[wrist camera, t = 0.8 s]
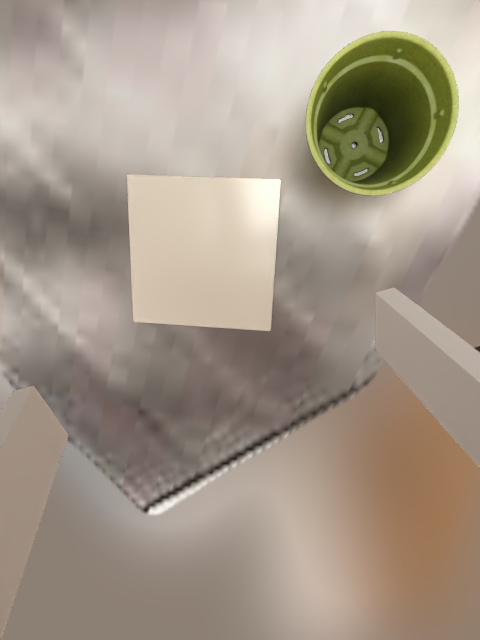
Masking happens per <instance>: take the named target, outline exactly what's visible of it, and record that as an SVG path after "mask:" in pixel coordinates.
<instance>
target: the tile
mask: <svg viewBox="0 0 480 640" xmlns="http://www.w3.org/2000/svg"><path fill="white" fill-rule="evenodd" d="M280 185H281V179H253V178H222V177H191V176H159V175H128V174H127V187H128V210H129V234H130V257H131V281H132V305H133V322H143V323H158V324H173V325H187V326H202V327H217V328H232V329H247V330H262V331H271V318H272V304H273V289H274V274H275V259H276V245H277V230H278V215H279V200H280Z"/></svg>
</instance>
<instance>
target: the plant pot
mask: <svg viewBox="0 0 480 640" xmlns="http://www.w3.org/2000/svg"><path fill="white" fill-rule="evenodd" d="M458 108H459V96H458V88H457V84H456V81H455V78H454V74H453V72H452V69H451V67H450V65H449V64H448V62H447V60H446V59H445V58H444V57H443V55H442V54H441V53H440V52H439V50H438V49H437V48H436V47H434V46H433V45H432V44H430V43H429V42H428V41H426V40H425V39H423V38H421V37H419V36H416V35H414V34H410V33H406V32H398V31H383V32H377V33H373V34H369V35H367V36H364V37H362V38H360V39H357V40H356V41H354V42H352V43H350V44H349V45H347V46H346V47H344V48H343V49H342V50H341V51H339V52H338V53H337V54H336V55H335V56H334V57H333V58H332V59H331V60H330V61H329V62H328V63H327V65H326V66H325V67H324V69H323V70H322V72H321V73H320V75H319V77H318V78H317V80H316V82H315V84H314V86H313V89H312V91H311V94H310V97H309V101H308V105H307V111H306V135H307V141H308V145H309V148H310V151H311V154H312V156H313V158H314V160H315V162H316V163H317V165H318V167H319V168H320V170H321V171H322V172H323V173H324V174H325V176H326V177H327V178H328V179H329V180H331V181H332V182H333V183H334V184H336V185H337V186H339V187H340V188H342V189H344V190H346V191H349V192H352V193H355V194H359V195H366V196H378V195H385V194H390V193H393V192H396V191H399V190H401V189H404V188H406V187H408V186H410V185H412V184H413V183H415V182H416V181H418V180H419V179H421V178H422V177H423V176H424V175H425V174H426V173H428V172H429V171H430V170H431V169H432V168H433V166H434V165H435V164H436V163H437V162H438V161H439V159H440V158H441V156H442V155H443V153H444V152H445V150H446V148H447V146H448V145H449V142H450V140H451V138H452V136H453V133H454V130H455V127H456V123H457V117H458ZM347 114H353V115H354V117H353V118H350V119H347V120H345V121H342V122H341V123H338V120H339V119H340V118H342V117H345V116H346V115H347ZM377 127H379V128H380V129H381V131H382V133H383V137H384V140H383V143H380V142H379V134H378V130H377ZM353 142H356V143H357V147H356V148H352V147H351V144H352V143H353ZM325 148H327V149H328V155H329V158H330V160H331V164H328V163H327V162H326V159H325V155H324V150H325ZM366 168H369V170H368V172H366V173H365V174H362V175H360V176H357V177H356V176H354V173H356V172H360V171H362V170H365V169H366Z"/></svg>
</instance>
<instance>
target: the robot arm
mask: <svg viewBox="0 0 480 640" xmlns="http://www.w3.org/2000/svg"><path fill="white" fill-rule="evenodd" d="M375 350H376V351H377V352H378V353H379V354H380V356H381V357H382V358H383V359H384V360H385V361H386V362H387V364H388V365H389V366H390V367H391V368H392V369H393V370H394V371H395V373H396V374H397V375H398V376H399V377H400V378H401V380H402V381H403V382H404V383H405V384H406V385H407V386H408V388H409V389H410V390H411V391H412V392H413V393H414V394H415V396H416V397H417V398H418V399H419V400H420V401H421V402H422V403H423V404H424V406H425V407H426V408H427V409H428V410H429V411H430V413H431V414H432V415H433V416H434V417H435V418H436V419H437V421H438V422H439V423H440V424H441V425H442V426H443V427H444V429H445V430H446V431H447V432H448V433H449V434H450V435H451V437H452V438H453V439H454V440H455V441H456V442H457V443H458V445H459V446H460V447H461V448H462V449H463V450H464V451H465V452H466V454H467V455H468V456H469V457H470V458H471V459H472V460H473V461H474V463H475V464H476V465H477V466H478V467H479V468H480V346H479V347H475V348H473V347H472V346H471V345H469V344H468V343H466V342H465V341H464V340H463V339H461V338H460V337H459V336H457V335H456V334H455V333H454V332H452V331H451V330H449V329H448V328H447V327H445V326H444V325H443V324H442V323H440V322H439V321H438V320H436V319H435V318H434V317H433V316H431V315H430V314H428V313H427V312H426V311H424V310H423V309H422V308H421V307H419V306H418V305H417V304H415V303H414V302H413V301H411V300H410V299H409V298H408V297H406V296H405V295H404V294H402V293H401V292H400V291H398V290H397V289H396V288H391V289H387V290H384V291H380V292H376V293H375ZM67 438H68V434H67V432H66V431H65V430H64V428H63V427H62V425H61V424H60V422H59V421H58V420H57V418H56V417H55V415H54V414H53V413H52V411H51V410H50V408H49V407H48V405H47V404H46V403H45V401H44V400H43V398H42V397H41V395H40V394H39V393H38V391H37V390H36V388H35V387H34V386H30V387H27V388H23V389H19V390H16V391H13V392H12V394H11V395H10V397H9V399H8V401H7V402H6V404H5V406H4V407H3V409H2V411H1V412H0V640H1V638H2V635H3V632H4V629H5V626H6V623H7V620H8V616H9V614H10V611H11V608H12V605H13V602H14V599H15V596H16V593H17V590H18V587H19V583H20V580H21V577H22V575H23V571H24V568H25V565H26V562H27V559H28V556H29V553H30V550H31V547H32V544H33V541H34V538H35V535H36V532H37V529H38V526H39V523H40V520H41V517H42V514H43V511H44V508H45V505H46V501H47V498H48V496H49V493H50V490H51V487H52V484H53V481H54V478H55V474H56V471H57V468H58V465H59V462H60V459H61V456H62V453H63V450H64V447H65V444H66V441H67Z"/></svg>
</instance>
